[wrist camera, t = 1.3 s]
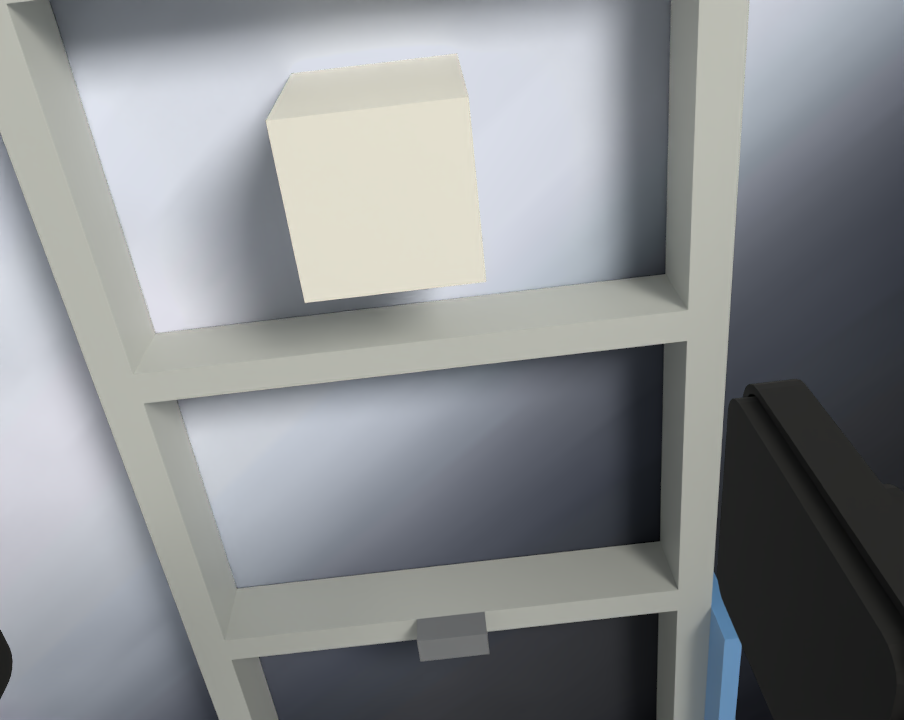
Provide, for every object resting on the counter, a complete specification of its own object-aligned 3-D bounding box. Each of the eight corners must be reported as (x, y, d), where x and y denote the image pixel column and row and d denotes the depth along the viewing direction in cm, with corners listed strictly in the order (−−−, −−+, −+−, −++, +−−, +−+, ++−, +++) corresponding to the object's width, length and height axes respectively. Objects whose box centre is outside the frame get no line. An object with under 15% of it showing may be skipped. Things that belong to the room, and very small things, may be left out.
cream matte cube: (456, 53, 23) (468, 96, 19) (472, 210, 25) (486, 281, 21) (292, 72, 23) (265, 120, 19) (321, 228, 26) (304, 303, 21)
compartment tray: (747, -165, 21) (815, -171, 17) (695, 747, 38) (724, 834, 35) (-24, -70, 21) (-108, -57, 18) (274, 793, 39) (261, 884, 35)
